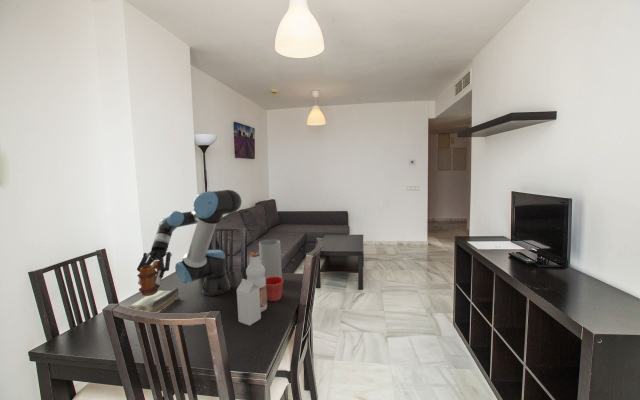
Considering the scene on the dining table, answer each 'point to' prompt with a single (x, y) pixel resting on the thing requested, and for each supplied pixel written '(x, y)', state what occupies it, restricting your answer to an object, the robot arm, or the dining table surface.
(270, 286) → the flower pot
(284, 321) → the dining table surface
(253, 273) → the fruit juice
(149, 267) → the mug
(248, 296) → the milk carton
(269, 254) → the cylinder vase
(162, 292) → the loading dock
